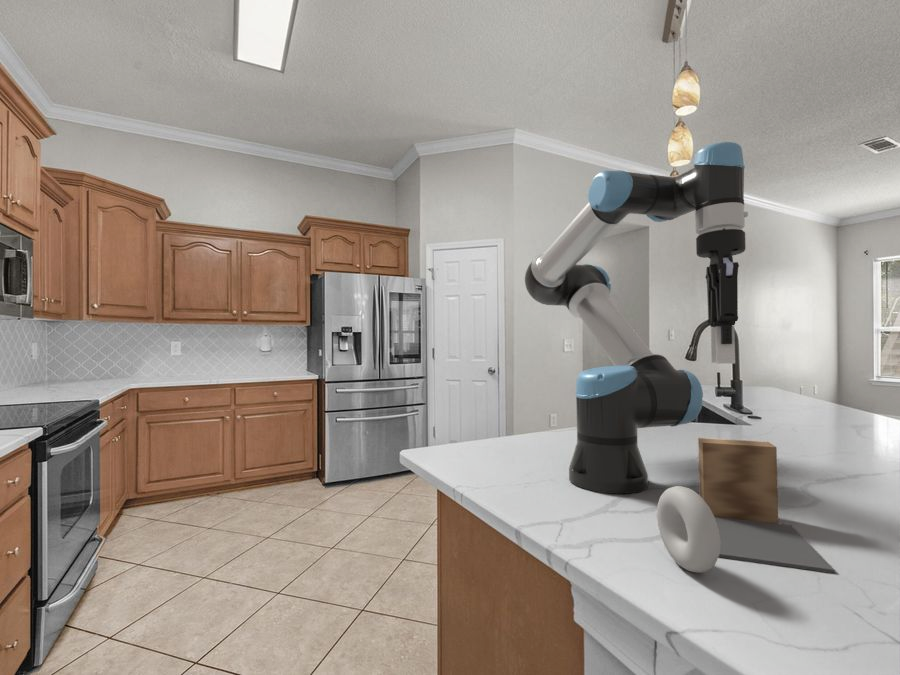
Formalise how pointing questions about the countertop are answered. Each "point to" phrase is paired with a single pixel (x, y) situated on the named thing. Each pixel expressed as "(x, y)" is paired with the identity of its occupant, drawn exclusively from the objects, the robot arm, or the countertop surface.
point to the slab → (739, 479)
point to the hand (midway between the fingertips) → (723, 362)
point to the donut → (688, 529)
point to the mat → (768, 544)
